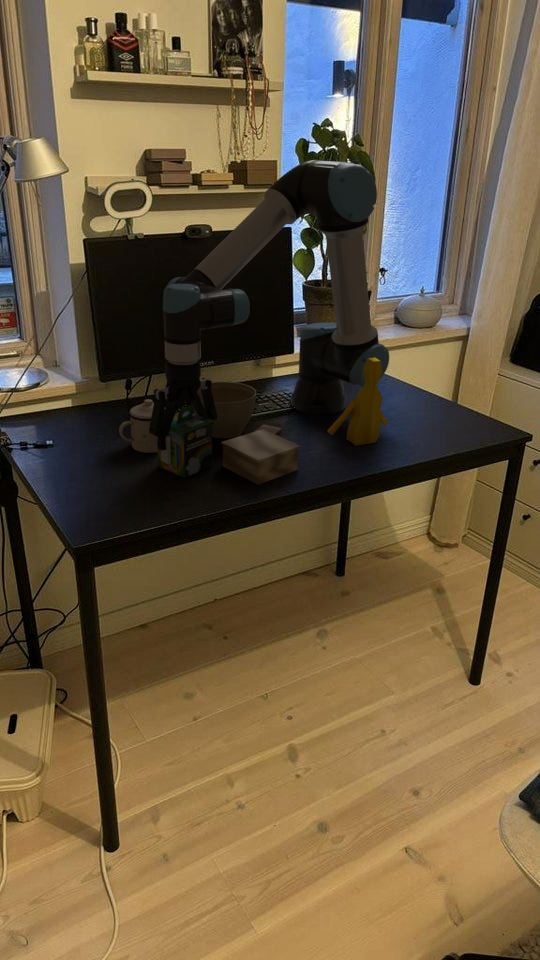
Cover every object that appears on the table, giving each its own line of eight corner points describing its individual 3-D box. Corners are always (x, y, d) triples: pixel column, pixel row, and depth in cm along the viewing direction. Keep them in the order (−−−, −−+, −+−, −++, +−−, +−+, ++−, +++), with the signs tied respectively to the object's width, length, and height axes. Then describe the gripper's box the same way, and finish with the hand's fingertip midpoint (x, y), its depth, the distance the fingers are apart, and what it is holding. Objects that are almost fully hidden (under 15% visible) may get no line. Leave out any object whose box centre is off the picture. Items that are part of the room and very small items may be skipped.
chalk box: (185, 455, 171) (184, 395, 164) (213, 466, 166) (213, 405, 159) (155, 467, 164) (153, 405, 158) (184, 479, 159) (183, 416, 153)
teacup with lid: (159, 436, 181) (158, 391, 176) (175, 449, 174) (174, 403, 169) (113, 445, 175) (110, 399, 170) (128, 459, 168) (125, 411, 163)
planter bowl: (238, 417, 194) (239, 378, 190) (266, 438, 182) (267, 397, 177) (182, 426, 187) (181, 385, 183) (207, 449, 175) (206, 406, 170)
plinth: (262, 452, 174) (263, 429, 171) (299, 470, 165) (300, 445, 163) (221, 466, 166) (221, 441, 163) (257, 485, 158) (258, 460, 155)
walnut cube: (263, 443, 179) (263, 424, 177) (281, 447, 177) (282, 428, 175) (253, 450, 175) (254, 431, 173) (272, 454, 173) (273, 435, 171)
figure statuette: (381, 431, 188) (390, 348, 179) (399, 442, 182) (409, 357, 172) (322, 441, 181) (328, 355, 171) (338, 453, 175) (345, 365, 165)
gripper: (213, 347, 163) (213, 439, 173) (128, 364, 150) (133, 463, 160) (234, 355, 158) (233, 449, 168) (148, 373, 145) (152, 475, 155)
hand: (184, 456), depth 164 cm, fingers closed on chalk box, 9 cm apart
